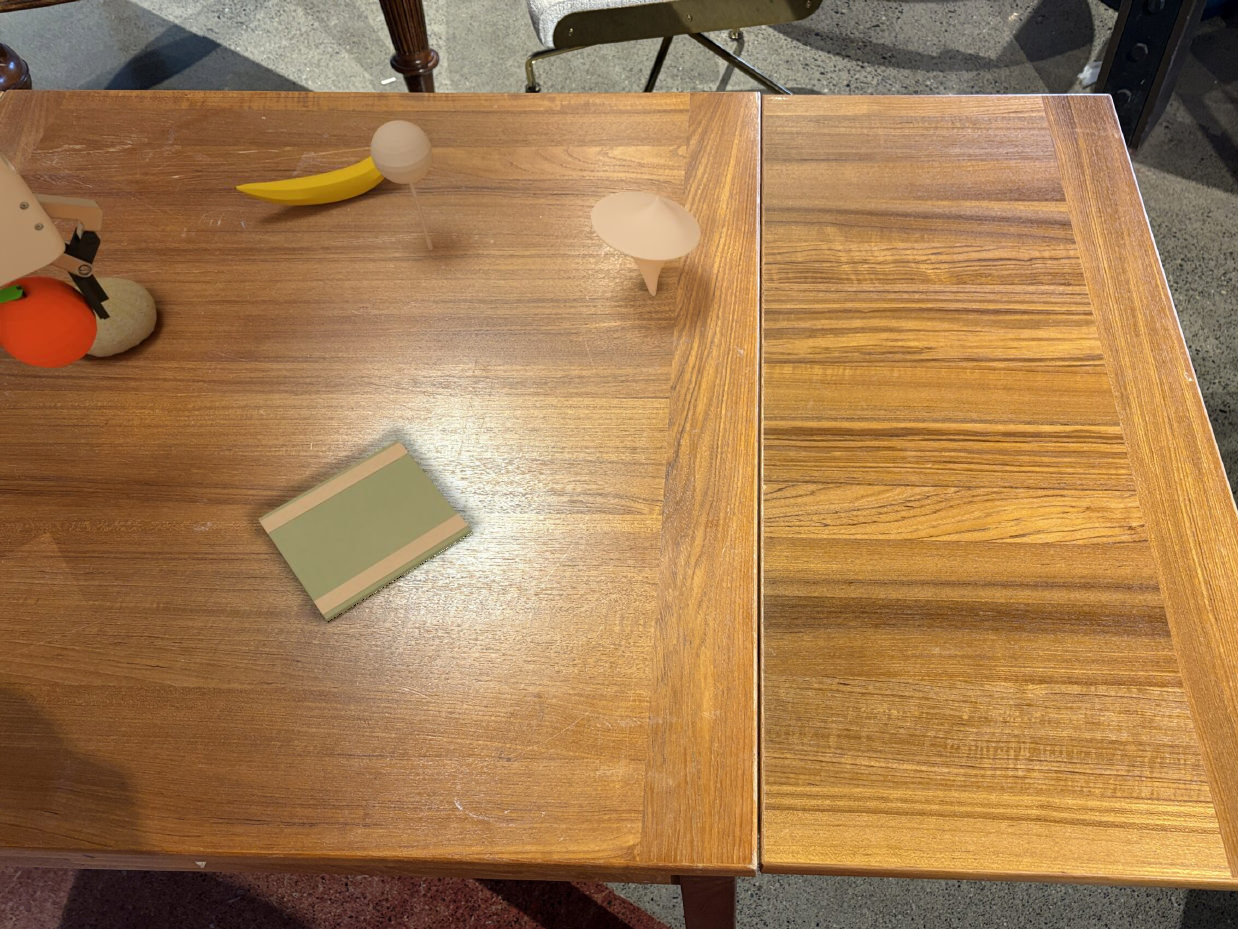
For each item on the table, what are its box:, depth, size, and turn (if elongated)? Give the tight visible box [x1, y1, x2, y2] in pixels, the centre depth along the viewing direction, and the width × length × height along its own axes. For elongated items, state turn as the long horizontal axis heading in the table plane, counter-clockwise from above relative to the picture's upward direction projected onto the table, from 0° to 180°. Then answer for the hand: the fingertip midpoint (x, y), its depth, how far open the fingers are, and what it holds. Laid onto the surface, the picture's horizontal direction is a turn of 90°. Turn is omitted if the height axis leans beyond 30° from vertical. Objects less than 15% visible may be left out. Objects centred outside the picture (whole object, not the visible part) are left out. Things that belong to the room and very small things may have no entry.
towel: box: [257, 439, 473, 622], centre depth 89 cm, size 14×13×1 cm
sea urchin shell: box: [74, 277, 158, 358], centre depth 101 cm, size 9×8×8 cm
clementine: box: [0, 275, 97, 369], centre depth 77 cm, size 8×7×7 cm
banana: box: [234, 155, 385, 206], centre depth 111 cm, size 3×19×6 cm, turn 115°
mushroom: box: [590, 190, 702, 297], centre depth 100 cm, size 10×11×12 cm
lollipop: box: [369, 119, 434, 251], centre depth 103 cm, size 6×6×15 cm
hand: (45, 334), depth 78 cm, fingers closed on clementine, 8 cm apart
